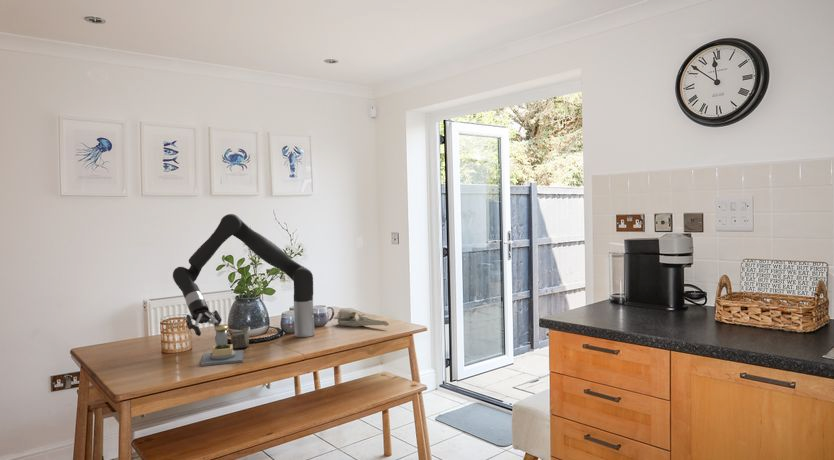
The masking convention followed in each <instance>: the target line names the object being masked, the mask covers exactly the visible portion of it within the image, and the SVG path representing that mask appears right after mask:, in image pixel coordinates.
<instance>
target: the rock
mask: <svg viewBox="0 0 834 460" xmlns="http://www.w3.org/2000/svg"><path fill="white" fill-rule="evenodd" d="M230 341H231V344H233V350H234V349H243V348H247V347H249V343H250V337H249V330H248V327H244V328H242V329H241V330H236V331H234V332H233V333H232V335H231V337H230Z"/></svg>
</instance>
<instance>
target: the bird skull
mask: <svg viewBox="0 0 834 460" xmlns="http://www.w3.org/2000/svg"><path fill="white" fill-rule="evenodd" d="M356 314H357V315H358V318H356ZM333 319H334V320H337V323H338V325H339V326H343V327H345V326H346V327H353V328H354V327H356V328H357V327H364V326H365V327H366V326H385V327H386V326H390V325H389V323H388V322H387V321H386V320H380V319H376V318H371V317H369V316H367V315H366V314H365V313H364V312H362V311H361V310H358V309H355V308H353V307H345V308H341V309H340V310H339V311H338V312H337V315H336V316H334V317H333Z"/></svg>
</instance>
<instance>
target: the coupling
mask: <svg viewBox="0 0 834 460" xmlns="http://www.w3.org/2000/svg"><path fill="white" fill-rule="evenodd" d="M228 330H229V325H228V324H219V326H215V327H214V331H215V340H216V341H215V343H216V345H215V346H216V347H217V349H228V345H229V343H228Z"/></svg>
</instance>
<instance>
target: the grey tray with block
mask: <svg viewBox="0 0 834 460" xmlns="http://www.w3.org/2000/svg"><path fill="white" fill-rule="evenodd" d="M211 351H212V352H208V353H203V356H202V359H201V362H200V367H208V366H217V365H219V366H220V365H229V364H230V365H231V364H240V363H243V362H244V353H245V352H244V349H239V350H234V348H233V344H232V343H230V344H229V343H228V349H217V347H216V345H213V347H212V349H211Z"/></svg>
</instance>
